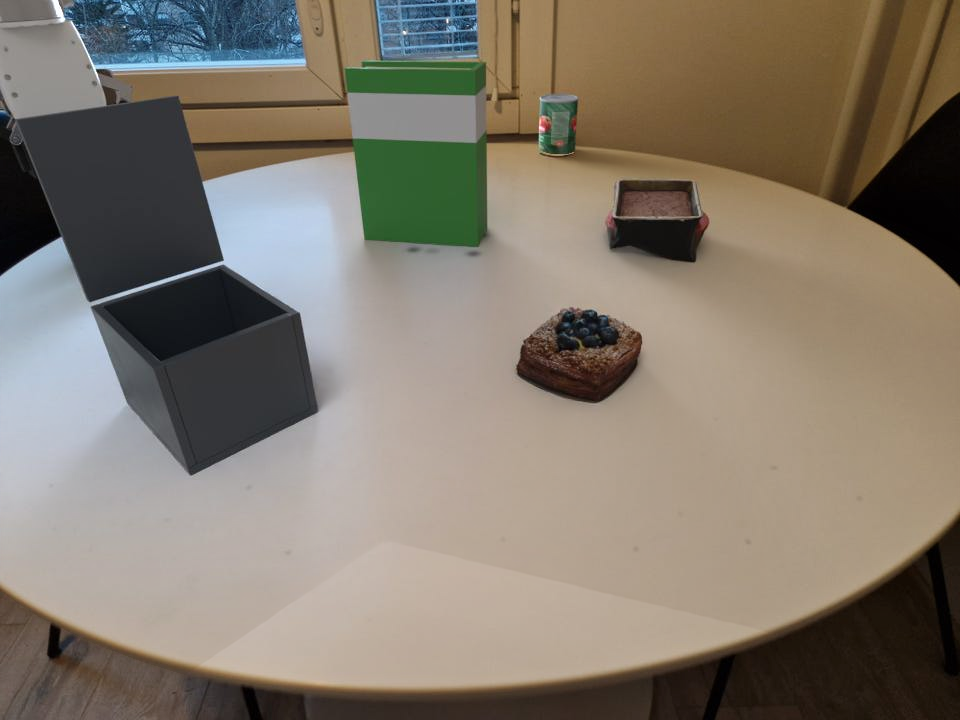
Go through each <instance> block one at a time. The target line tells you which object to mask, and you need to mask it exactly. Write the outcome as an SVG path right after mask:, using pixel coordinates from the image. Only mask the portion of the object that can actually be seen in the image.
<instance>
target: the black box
mask: <svg viewBox="0 0 960 720" xmlns="http://www.w3.org/2000/svg"><path fill="white" fill-rule="evenodd" d="M90 310H91V312H92V315H93V317H94V320H95V322H96V325H97V328H98V331H99V333H100V336H101V338H102V341H103V344H104V345H105V349H106V350H107V354H108V357H109V359H110V363H111V365H112V367H113V370H114V372H115V373H114V374H115V375H116V377H117V380H118V383H119V386H120V388H121V391H122V393H123V396H124V400H125V401H126V404H127V405H128V406H129V407H130V408H131V410H132V411H133V412H134V413H135V414H136V415H137V417H139V419H140V420H141V422H143V423H144V424H145V425H146V427H147V428H148V429H149V430H150V431H151V432H152V434H153V435H154V436H155V437H156V438H157V439H158V440H159V442H160V443H161V444H162V445H163V446H164V447H165V448H166V450H167V451H168V452H169V453H170V454H171V456H172V457H173V458H174V459H175V460H176V461H177V463H179V465H180V466H181V467H182V468H183V469H184V471H186V473H187V474H188V475H189V476H192V475H194V474H196V473H198V472H200V471H202V470H204V469H207V468H208V467H211V466H212V465H214V464H216V463H218V462H220V461H223V460H224V459H226V458H229V457H230V456H232V455H234V454H237V453H238V452H240V451H242V450H244V449H246V448H248V447H250V446H252V445H254V444H256V443H258V442H260V441H263V440H264V439H266V438H269V437H270V436H273V435H274V434H276V433H279V432H281V431H283V430H284V429H286V428H288V427H290V426H293V425H294V424H296V423H298V422H300V421H303V420H304V419H306V418H308V417H310V416H312V415H314V414H316V413H318V412H319V407H318V401H317V398H316V390H315V386H314V381H313V375H312V370H311V364H310V359H309V353H308V347H307V343H306V338H305V333H304V327H303V321H302V315H301V312H300V311H299V310H297V309H295V308H294V307H292V306H290V305H289V304H287V303H286V302H284V301H283V300H282V299H279V298H278V297H276V296H274V295H273V294H272V293H270V292H268V291H267V290H265V289H264V288H262V287H260V286H259V285H258V284H256V283H254V282H252V281H251V280H250V279H248V278H246V277H244V276H243V275H241V274H240V273H238V272H236V271H235V270H234V269H232V268H230V267H229V266H227V265H225V264H223V263H222V264H220V265H216V266H214V267H210V268H208V269H204V270H202V271H201V270H200V271H198V272H195V273H192V274H188V275H185V276H182V277H179V278H175V279H172V280H169V281H166V282H164V283H160V284H157V285H154V286H150V287H147V288H145V289H141V290H137V291H135V292H131V293H128V294H125V295H121V296H119V297H115V298H112V299H109V300H106V301H103V302H100V303H96V304H93V305H91V306H90Z"/></svg>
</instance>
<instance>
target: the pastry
mask: <svg viewBox="0 0 960 720" xmlns="http://www.w3.org/2000/svg"><path fill="white" fill-rule="evenodd" d="M522 342H523V344H521V347H520V351H519V359H518V362H517V364H516V367H515V371H516V374H517V376H518V377H520V378H521V379H523V380H525V381H526V382H528V383H530V384H532V385H534V386H535V387H537V388H540V389H542V390H545V391H547V392H549V393H552V394H554V395H557V396H559V397H563V398H566V399H570V400H574V401H579V402H586V403H594V404H596V403H599V402H601V401H603V400H605V399H607V398H608V397H610V396H611V395H612V394H613V393H615V391H617V390H618V389H619V388H620V387H621V386H622V385H623V384H624V383H625V382H626V381H627V380H628V379H629V378H630V377H631V375H632V374H633V373H634V371H635V370H636V368H637V366H638V358H639V357H640V354H641V351H642V346H643V336H642V334H641V332H639V331H637V330H635V329H634V328H632V327H631V325H627V324H626V323H625V321H624V320H623V321H622V320H619V319H617V318H616V317H611V316H610V314H607V315H606V314H599V315H598V312H597V311H596V310H594V309H591V308H590V309H581V308H580V307H577V308H575V307H573V306H569V307H568V308H560V310H559V312H557V313H556V314H555V315H551V317H549V319H547V320H546V321H545V322H543V323H542V324H541V325H540V326H539V327H537V328H536V329H535V330H534V331H533V332H532V333H530V335H529V336H528V337H526V339H523V340H522Z"/></svg>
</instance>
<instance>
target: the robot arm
mask: <svg viewBox="0 0 960 720" xmlns="http://www.w3.org/2000/svg"><path fill="white" fill-rule="evenodd" d="M69 8H75V1H74V0H0V105H1V107H2V109H3V111H4V113H5V114H6V115H7V116H8V117H9V118H10V119H9V121H8V123H7V125H6V127H5V126H4V125H1V124H0V138H1V139H3V140H5V141H7V142H9V143H10V145H11V147H12V149H13V152H14V154H15V157H16V160H17V162H18V164H19V166H20V169H21V170H22V172H28V173H29V175H30V176H32V177H33V178H34V179H38V177H37V174H36V171H35V169H34V166H33V164H32V161H31V159H30V156H29V154H28V151H27V149H26V146H25V144H24V141H23V139H22V136H21V134H20V131H19V129H18V126H17V124H16V121H15V119H19V118H26V117H33V116H39V115H46V114H53V113H60V112H66V111H73V110H80V109H87V108H94V107H100V106H106V98H105V94H104V91H103V88H102V86H101V85H103V86H106V87H109V88H112V89H115V90H116V92H117V99H116V101H115V103H114V104H121V103H128V102H131V99H132V93H133V85H132V84H131V83H129V82H126V81H123V80H120V79H117V78H111V77H108V76H105V75H102V74H99V73H96V70H95V69H96V68H95V66H94V63H93V60H92V58H91V57H90V54H89V52H88V50H87V47H86V46H85V43H84V41H83V39H82V37H81V35H80V33H79V31H78V29H77V27H76V26H75V24H74V22H73V21H72V20H71V19H69V18H67V19H66V18H65V15H66V10H68V9H69ZM114 104H113V105H114ZM38 180H39V179H38Z"/></svg>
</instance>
